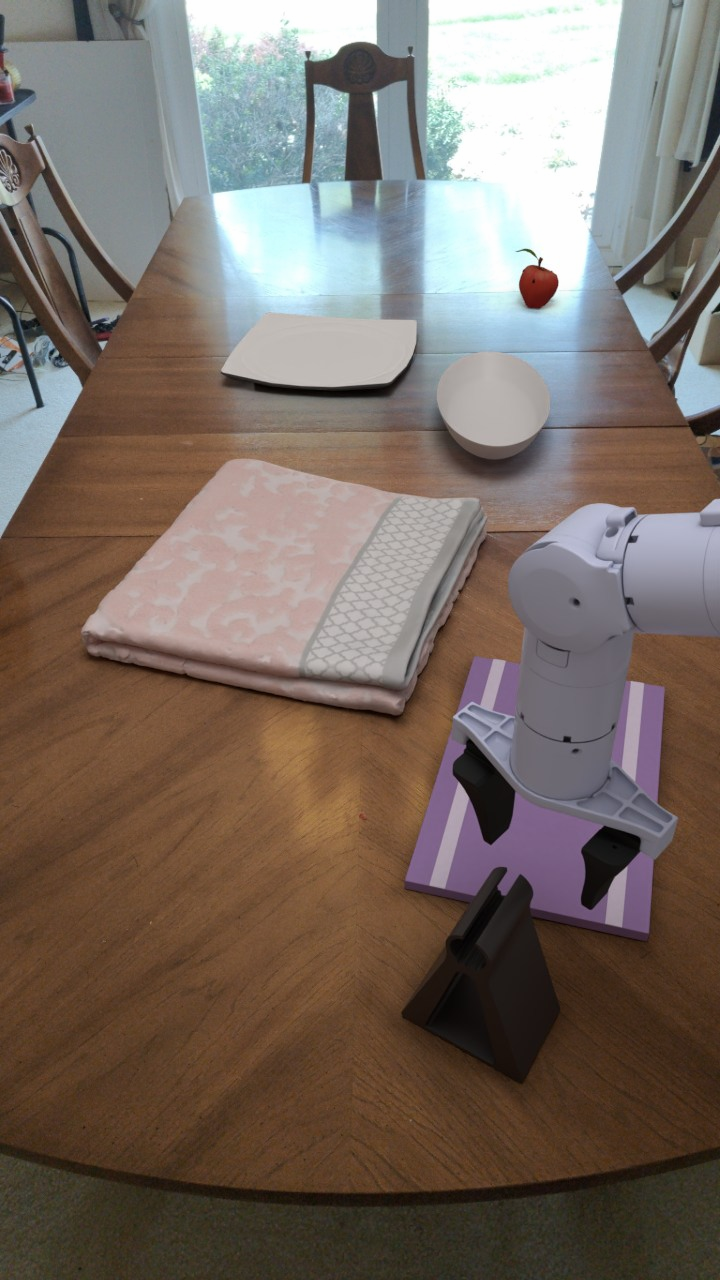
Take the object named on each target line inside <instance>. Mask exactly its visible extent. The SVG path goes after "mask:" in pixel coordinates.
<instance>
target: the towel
mask: <svg viewBox="0 0 720 1280" xmlns="http://www.w3.org/2000/svg"><path fill="white" fill-rule="evenodd" d="M480 503H481V499H480V498H477V497H471V496H470V497H442V498H438V497H437V498H435V497H428V496H422V495H415V494H407V493H400V492H399V493H397V492H393V491H392V492H391V491H386V490H381V489H378V488H375V487H372V486H368V485H364V484H359V483H354V482H348V481H341V480H338V479H333V478H329V477H325V476H321V475H317V474H312V473H309V472H305V471H299V470H296V469H291V468H288V467H285V466H281V465H278V464H275V463H272V462H268V461H266V460H265V461H264V460H262V459H261V460H259V459H255V458H254V459H253V458H234V459H231V460H228V461H226V462H225V463H224V464H223V465H221V467H220V468H218V470H217V471H215V472H214V476H213V477H212V478H211V479H209V480H208V481H207V483H205V485H204V486H203V487H202V488H201V489H200V490H199V492H198V494H195V496H194V497H192V499H191V500H190V502H188V504H187V505H186V506H185V508H184V509H183V510H182V511H181V512H179V515H178V516H177V517H176V518H175V520H174V521H173V523H172V524H171V525H170V527H168V529H167V530H165V532H163V533H162V535H160V537H159V538H158V539H157V540H155V542H154V543H153V544H152V546H151V547H149V548H148V550H147V551H145V553H144V555H142V557H141V558H140V559H139V560H137V561H135V564H134V566H133V567H132V568H131V569H130V571H128V573H127V574H126V575H125V576H124V578H123V580H121V581H120V582H119V583H118V584H117V585H116V586H115V587H114V589H111V590H110V591H108V592H107V594H106V595H105V596H104V597H103V598H102V599H101V601H100V602H99V603H98V604H97V609H96V610H95V612H94V613H92V614H90V615H89V617H88V618H87V619H86V621H85V623H84V625H83V626H82V627H81V631H80V634H81V637H82V638H81V641H82V644H83V647H84V648H85V649H86V650H87V653H88V654H90V655H91V656H94V657H102V658H106V659H109V660H112V661H116V662H117V661H118V662H122V663H125V664H135V665H138V666H142V667H148V668H153V669H157V670H160V671H164V672H165V671H167V672H172V673H176V674H179V675H187V676H189V677H192V678H195V679H200V680H203V681H204V680H205V681H210V682H217V683H221V684H224V685H230V686H233V687H240V688H243V689H251V690H255V691H258V692H262V693H267V694H272V695H273V694H274V695H278V696H281V697H282V696H283V697H286V698H292V699H294V700H301V701H303V702H309V703H310V702H311V703H317V704H324V705H329V706H333V707H338V708H339V707H340V708H344V709H352V710H366V711H367V710H369V711H372V712H377V713H383V714H389V715H392V716H400V715H402V713H403V712H404V710H405V707H406V702H408V701H409V700H410V698H411V697H412V695H413V693H414V691H415V688H416V685H417V682H418V676H419V675H421V673H422V672H423V670H424V668H425V666H426V665H427V663H428V661H429V657H430V654H431V653H432V652H433V650H434V646H435V643H434V641H435V638H436V635H437V633H438V630H439V629H440V628H441V627H442V626H445V623H446V622H447V619H448V617H449V616H450V614H451V611H452V610H453V607H454V602H455V601H456V599H457V598H458V596H459V595H460V592H459V591H461V590H462V589H463V587H464V585H465V582H466V578H467V577H469V576H470V573H471V571H472V569H473V565H474V564H475V562H476V561H477V557H478V552H479V548H480V545H481V544H482V543H484V540H485V539H486V537H487V535H488V532H487V527H488V526H487V522H488V519H489V516H488V515H486V514H484V507H483V506H481V504H480Z"/></svg>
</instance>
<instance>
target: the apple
mask: <svg viewBox="0 0 720 1280" xmlns="http://www.w3.org/2000/svg"><path fill="white" fill-rule="evenodd" d="M515 252H516V253H519V252H527V253H529V254H530V255H532V256H533V257H535V259H537V261H538V262H537V265H536V264H530V265H527V266H526V267H524V268H523V269H522V271H521V272H522V273H521V275H520V277H519V281H518V289H519V293H520V296H521V299H522V301H523V302H524V304H525V306H526V307H527V308H529V309H535V310H538V309H542V308H543V307H545V306H546V305H547V304H548V303H549V302H551V300H552V298H554V296H555V294H556V293H557V291H558V288H559V277H558V275H557V274H556V273H555V272H554V271H553V270H550V269H548V268H545V267H543V266H542V265H541V264H542V262H543V261H544V258H543V257H542V256H540V257H539V258H538V257H537V255H536V253H535V252H534V251H533V250H532V249H530V248H521V249H519V250H515Z"/></svg>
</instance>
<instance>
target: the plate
mask: <svg viewBox="0 0 720 1280" xmlns="http://www.w3.org/2000/svg"><path fill="white" fill-rule="evenodd" d="M417 335H418V321H417V320H416V319H385V318H384V319H381V318H379V319H377V318H356V317H355V318H354V317H353V318H352V317H336V316H335V317H334V316H319V315H318V316H317V315H307V314H306V315H305V314H293V313H283V312H273V311H272V312H271V311H270V312H269V311H268V312H265V313H264V314H263V315H262V317H260V319H259V320H258V321H257V322H256V323H255V324H254V325H253V326H252V327H251V328H250V330H248V332H246V334H245V335H244V336H243V337H242V339H241V340H240V341H239V342H238V343H237V344H236V346H235V347H234V348H233V350H232V351H231V352H230V354H229V355H228V357H227V359H226V361H225V363H224V365H223V366H222V368H221V369H220V374H221V375H223V376H225V377H226V378H229V379H232V380H237V381H242V382H247V383H253V384H256V385H262V386H268V387H271V388H283V389H295V390H307V391H331V392H337V391H338V392H339V391H357V390H375V389H376V390H377V389H385V388H387V387H389V386H391V385H392V384H393V383H394V382H396V380H397V379H398V377H400V376H401V375H402V374H403V373H404V371H406V370H407V368H408V366H409V364H410V362H412V359H413V358H414V353H415V351H416V347H417V337H418V336H417Z"/></svg>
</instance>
